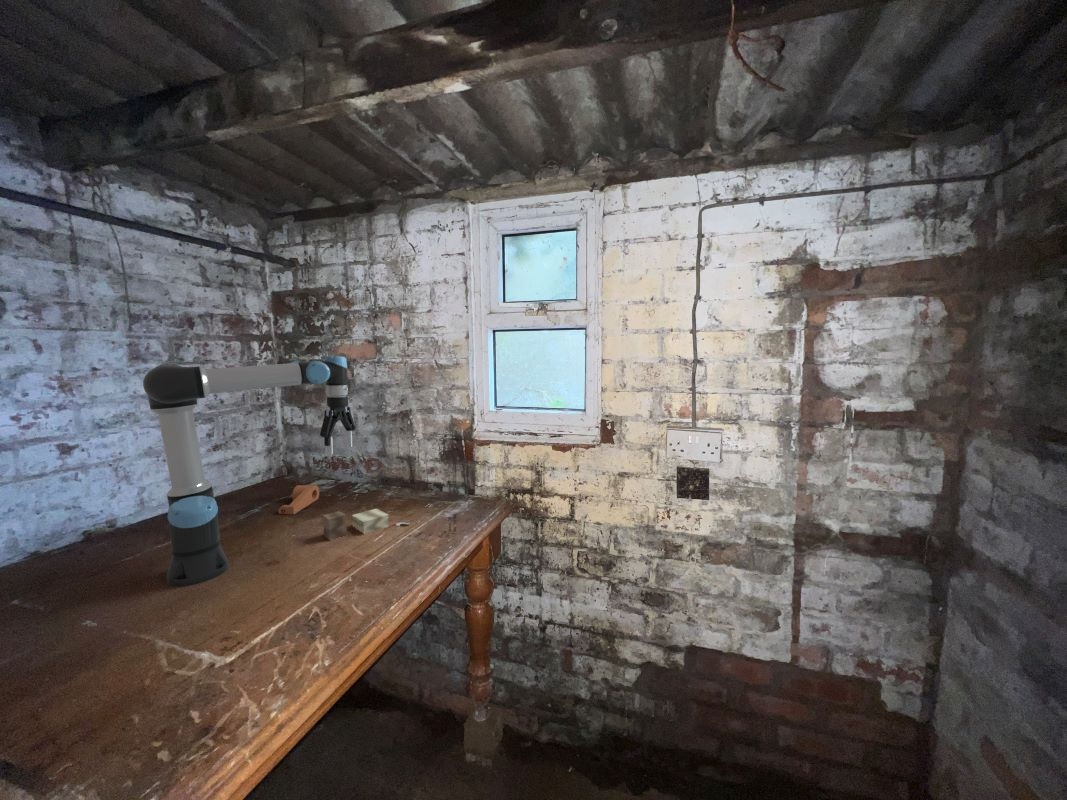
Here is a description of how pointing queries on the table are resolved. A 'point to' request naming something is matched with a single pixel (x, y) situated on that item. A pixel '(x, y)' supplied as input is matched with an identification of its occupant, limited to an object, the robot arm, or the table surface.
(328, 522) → the walnut block
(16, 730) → the table surface
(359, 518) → the pale square block
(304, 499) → the crank
